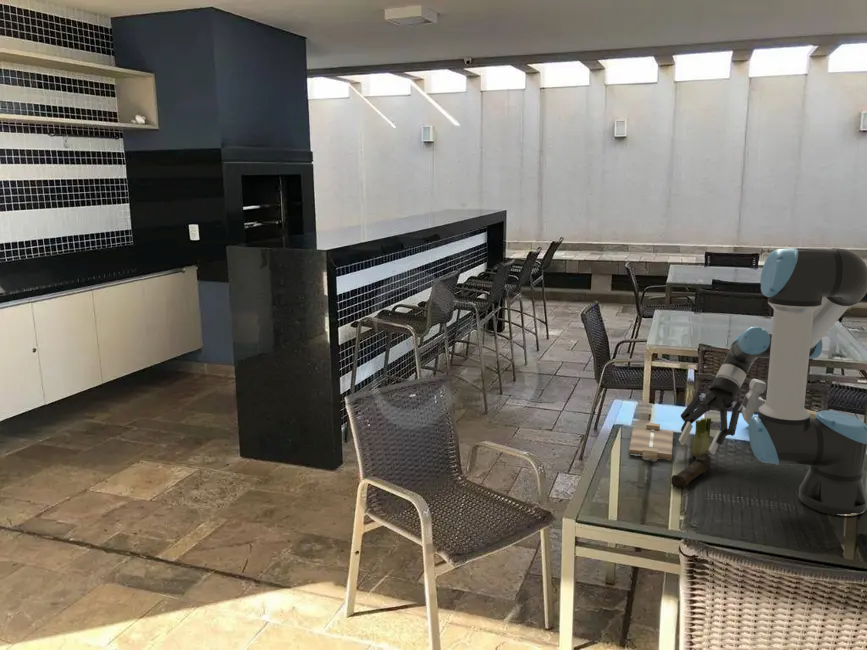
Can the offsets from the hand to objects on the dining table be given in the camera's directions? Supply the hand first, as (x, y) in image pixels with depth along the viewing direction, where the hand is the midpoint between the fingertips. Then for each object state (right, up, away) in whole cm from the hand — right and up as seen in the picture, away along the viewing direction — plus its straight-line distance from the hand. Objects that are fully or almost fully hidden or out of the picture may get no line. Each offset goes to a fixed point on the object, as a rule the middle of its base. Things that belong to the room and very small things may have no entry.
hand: (695, 447), depth 203 cm
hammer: (+39, +2, +23) cm, 45 cm away
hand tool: (-5, -7, -9) cm, 12 cm away
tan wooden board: (-10, -1, +11) cm, 14 cm away
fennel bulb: (+3, -3, +3) cm, 5 cm away
